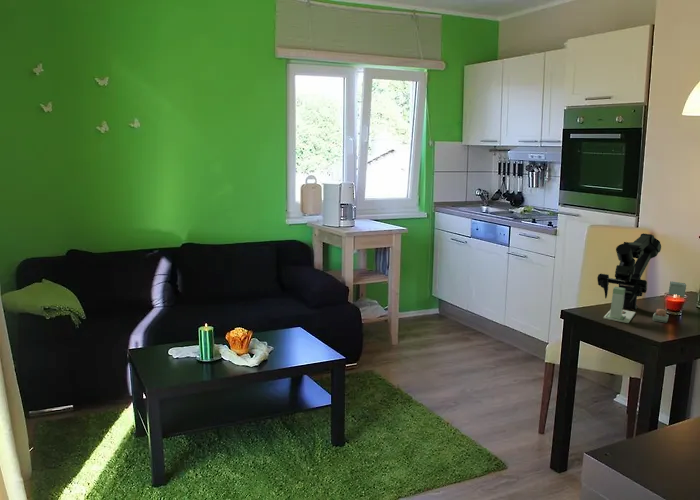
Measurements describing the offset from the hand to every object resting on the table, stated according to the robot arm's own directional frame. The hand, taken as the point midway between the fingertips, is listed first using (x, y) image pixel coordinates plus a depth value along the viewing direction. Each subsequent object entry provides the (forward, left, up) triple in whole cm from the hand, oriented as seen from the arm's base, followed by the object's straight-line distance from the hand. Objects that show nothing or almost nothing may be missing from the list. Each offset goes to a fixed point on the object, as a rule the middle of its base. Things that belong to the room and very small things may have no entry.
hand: (617, 299), depth 251 cm
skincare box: (-33, +19, -8) cm, 38 cm away
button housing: (-11, +16, -8) cm, 20 cm away
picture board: (-6, +1, -8) cm, 10 cm away
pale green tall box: (-1, 0, -7) cm, 7 cm away
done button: (-11, +15, -6) cm, 20 cm away
